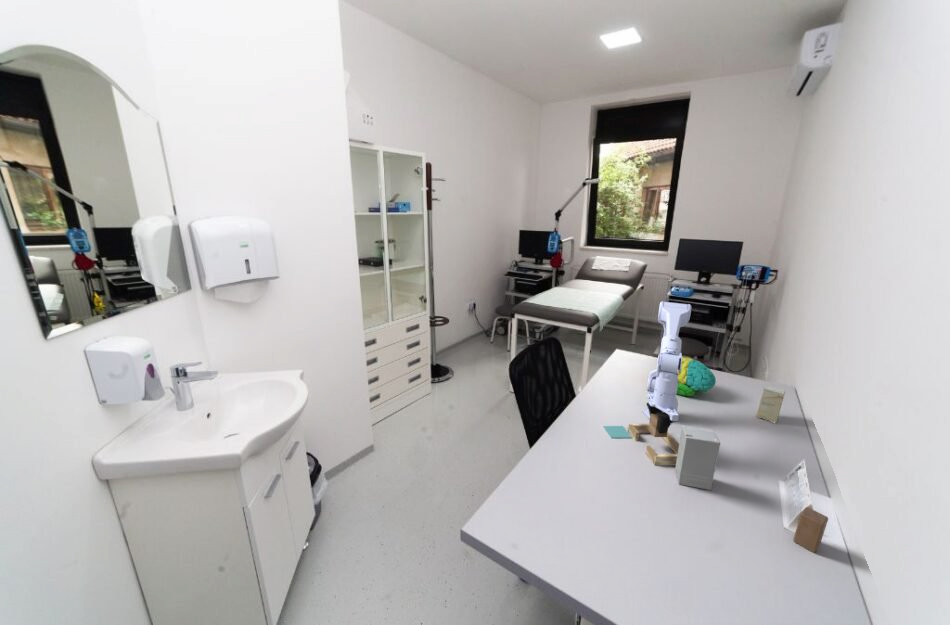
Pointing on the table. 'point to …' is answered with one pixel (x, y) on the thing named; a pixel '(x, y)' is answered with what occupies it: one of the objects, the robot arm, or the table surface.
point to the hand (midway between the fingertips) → (658, 428)
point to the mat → (617, 432)
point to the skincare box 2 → (770, 403)
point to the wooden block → (810, 529)
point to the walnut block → (655, 426)
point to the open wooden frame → (653, 456)
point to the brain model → (694, 377)
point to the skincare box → (697, 457)
